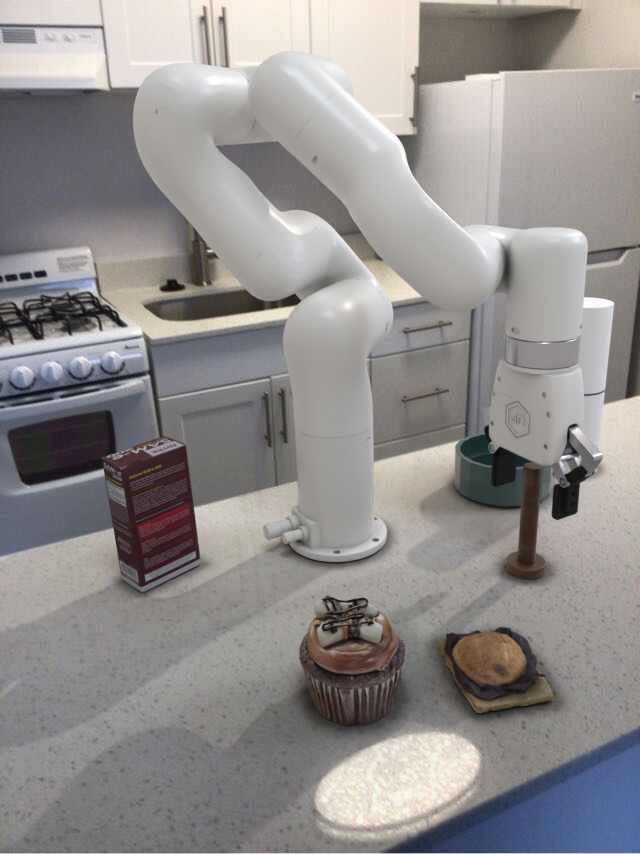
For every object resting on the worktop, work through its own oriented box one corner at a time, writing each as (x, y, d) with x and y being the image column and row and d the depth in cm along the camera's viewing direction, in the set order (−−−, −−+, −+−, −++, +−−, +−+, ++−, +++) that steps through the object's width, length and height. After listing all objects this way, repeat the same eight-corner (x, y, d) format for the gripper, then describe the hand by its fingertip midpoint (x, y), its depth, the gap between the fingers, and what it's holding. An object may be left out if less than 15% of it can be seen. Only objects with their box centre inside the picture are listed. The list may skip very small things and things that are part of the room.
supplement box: (179, 551, 95) (165, 433, 89) (202, 565, 91) (189, 444, 86) (118, 579, 89) (99, 455, 83) (140, 595, 86) (122, 467, 80)
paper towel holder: (524, 583, 85) (531, 477, 81) (498, 566, 89) (504, 463, 84) (553, 572, 87) (562, 468, 82) (526, 555, 91) (533, 454, 86)
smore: (560, 704, 67) (564, 670, 66) (470, 717, 66) (472, 683, 65) (512, 632, 77) (514, 601, 76) (433, 642, 76) (434, 611, 75)
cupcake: (421, 722, 66) (422, 626, 62) (312, 742, 64) (307, 645, 60) (389, 653, 75) (388, 566, 71) (292, 670, 73) (287, 581, 69)
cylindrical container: (599, 478, 110) (618, 308, 101) (548, 475, 111) (562, 307, 102) (593, 458, 116) (610, 297, 107) (545, 456, 118) (557, 297, 109)
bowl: (496, 518, 100) (498, 477, 98) (435, 482, 111) (436, 444, 109) (571, 494, 105) (574, 455, 103) (506, 461, 117) (508, 425, 114)
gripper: (460, 340, 84) (457, 479, 90) (578, 377, 70) (564, 540, 76) (512, 329, 87) (505, 465, 93) (634, 363, 73) (617, 521, 79)
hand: (532, 498), depth 85 cm, fingers open, 9 cm apart
